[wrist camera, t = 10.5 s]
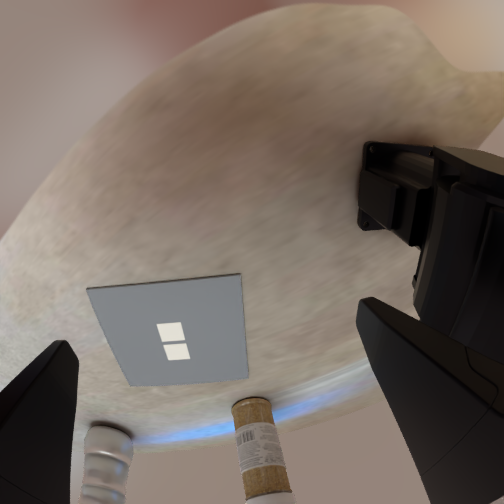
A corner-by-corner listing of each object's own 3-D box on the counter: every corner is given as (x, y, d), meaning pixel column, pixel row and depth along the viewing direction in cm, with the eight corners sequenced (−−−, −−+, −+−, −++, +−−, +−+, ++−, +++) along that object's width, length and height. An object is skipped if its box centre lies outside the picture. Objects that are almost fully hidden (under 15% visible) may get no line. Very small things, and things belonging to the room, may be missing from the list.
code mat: (240, 273, 21) (240, 275, 21) (248, 376, 27) (248, 378, 27) (86, 288, 20) (85, 289, 20) (130, 384, 26) (130, 386, 26)
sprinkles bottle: (242, 420, 31) (260, 521, 19) (223, 404, 29) (238, 518, 17) (277, 408, 31) (304, 510, 19) (261, 391, 29) (288, 507, 17)
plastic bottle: (129, 445, 32) (126, 567, 15) (84, 431, 30) (71, 554, 13) (140, 430, 30) (138, 571, 13) (90, 413, 28) (73, 557, 10)
